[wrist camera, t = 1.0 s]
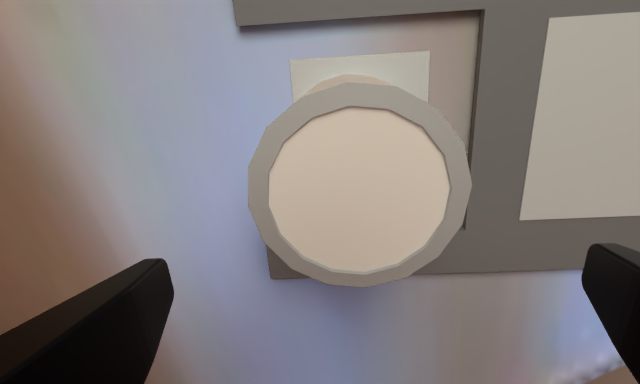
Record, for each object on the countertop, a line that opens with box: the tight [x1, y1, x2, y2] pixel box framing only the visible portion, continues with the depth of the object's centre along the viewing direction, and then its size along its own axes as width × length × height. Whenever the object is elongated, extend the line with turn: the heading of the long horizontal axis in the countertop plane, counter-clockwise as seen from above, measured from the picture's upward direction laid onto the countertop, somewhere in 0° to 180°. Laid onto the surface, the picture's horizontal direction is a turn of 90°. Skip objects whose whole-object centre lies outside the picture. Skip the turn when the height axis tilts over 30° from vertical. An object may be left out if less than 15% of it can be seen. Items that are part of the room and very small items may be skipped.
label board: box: [233, 0, 640, 279], centre depth 18 cm, size 22×15×1 cm
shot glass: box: [248, 73, 472, 288], centre depth 15 cm, size 7×7×7 cm
